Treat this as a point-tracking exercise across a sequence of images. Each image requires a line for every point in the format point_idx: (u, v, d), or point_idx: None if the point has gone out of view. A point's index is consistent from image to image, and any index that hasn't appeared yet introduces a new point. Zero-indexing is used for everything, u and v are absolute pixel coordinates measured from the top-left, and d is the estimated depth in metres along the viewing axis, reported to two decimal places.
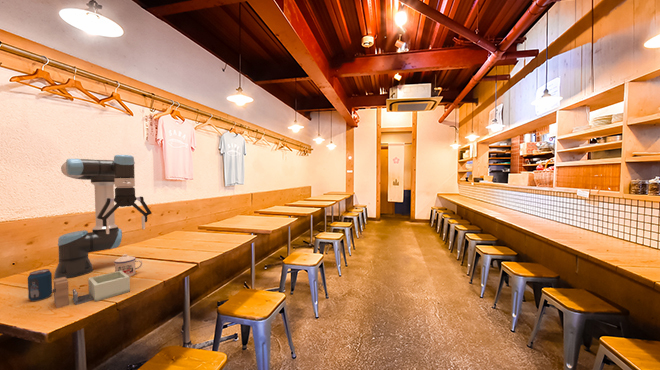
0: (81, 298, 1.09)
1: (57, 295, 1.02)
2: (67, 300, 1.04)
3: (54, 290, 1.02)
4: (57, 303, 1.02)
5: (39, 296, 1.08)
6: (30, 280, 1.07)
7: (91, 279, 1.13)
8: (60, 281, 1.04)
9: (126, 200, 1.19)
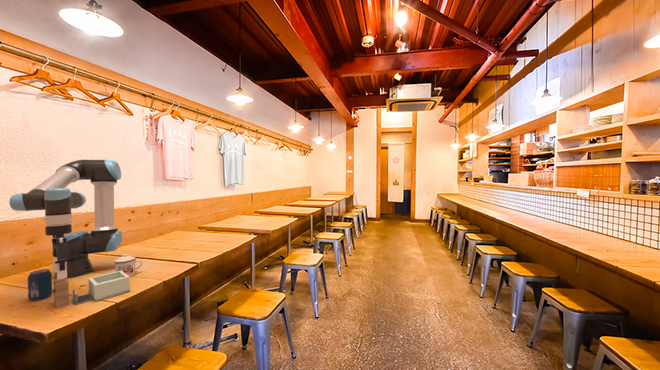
0: (81, 298, 1.09)
1: (57, 295, 1.02)
2: (67, 300, 1.04)
3: (54, 290, 1.02)
4: (57, 303, 1.02)
5: (39, 296, 1.08)
6: (30, 280, 1.07)
7: (91, 279, 1.13)
8: (60, 281, 1.04)
9: None
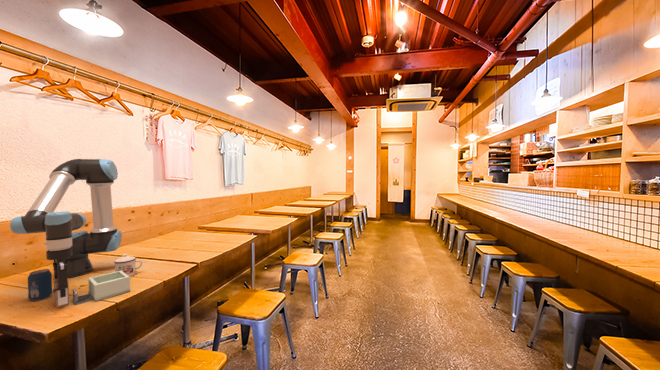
0: (81, 298, 1.09)
1: (57, 295, 1.02)
2: None
3: (54, 290, 1.02)
4: (57, 303, 1.02)
5: (39, 296, 1.08)
6: (30, 280, 1.07)
7: (91, 279, 1.13)
8: None
9: (56, 263, 1.04)
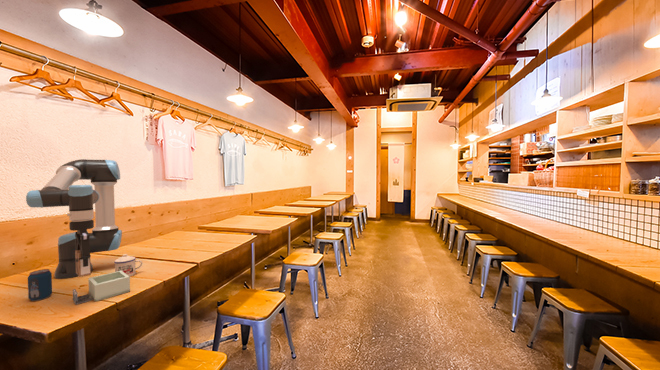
0: (81, 298, 1.09)
1: (80, 264, 1.05)
2: None
3: (77, 260, 1.05)
4: (80, 272, 1.05)
5: (39, 296, 1.08)
6: (30, 280, 1.07)
7: (91, 279, 1.13)
8: None
9: None
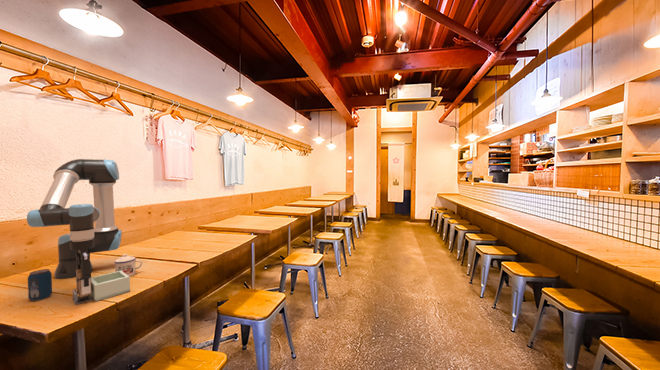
0: (81, 298, 1.09)
1: None
2: None
3: (78, 280, 1.05)
4: (81, 292, 1.05)
5: (39, 296, 1.08)
6: (30, 280, 1.07)
7: (91, 279, 1.13)
8: None
9: (79, 254, 1.08)
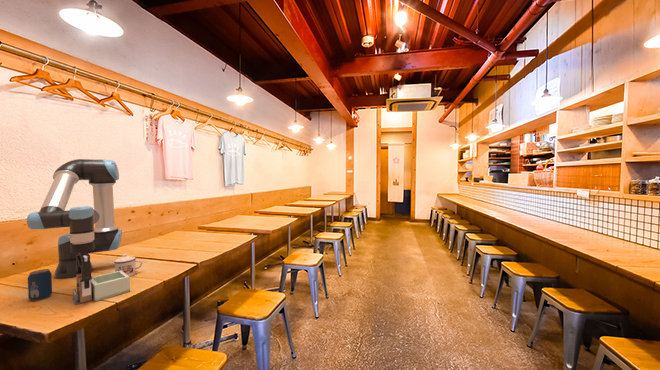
0: None
1: (81, 289, 1.05)
2: None
3: (78, 285, 1.05)
4: (81, 297, 1.05)
5: (39, 296, 1.08)
6: (30, 280, 1.07)
7: (91, 279, 1.13)
8: None
9: (79, 256, 1.08)
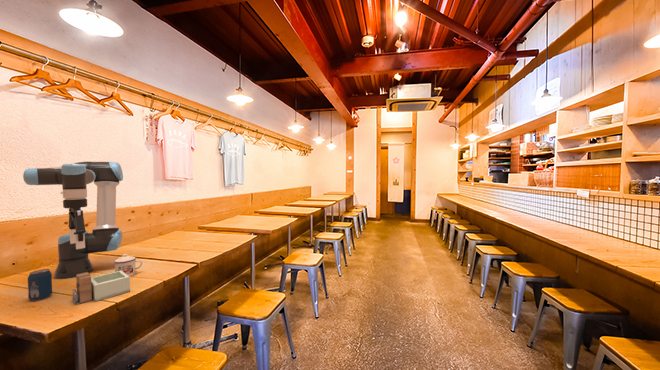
0: None
1: (81, 289, 1.05)
2: (90, 294, 1.07)
3: (78, 285, 1.05)
4: (81, 297, 1.05)
5: (39, 296, 1.08)
6: (30, 280, 1.07)
7: (91, 279, 1.13)
8: (83, 276, 1.08)
9: None
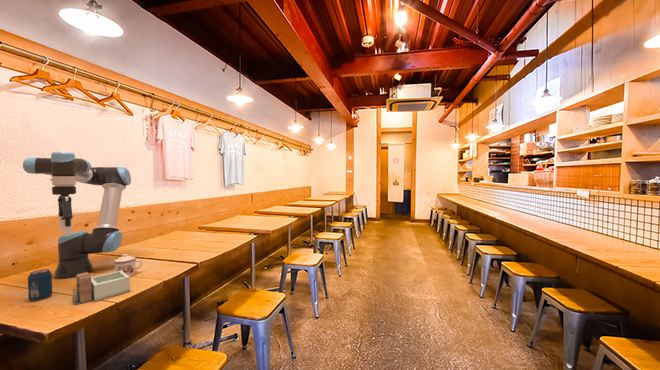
0: None
1: (81, 289, 1.05)
2: (90, 294, 1.07)
3: (78, 285, 1.05)
4: (81, 297, 1.05)
5: (39, 296, 1.08)
6: (30, 280, 1.07)
7: (91, 279, 1.13)
8: (83, 276, 1.08)
9: None
